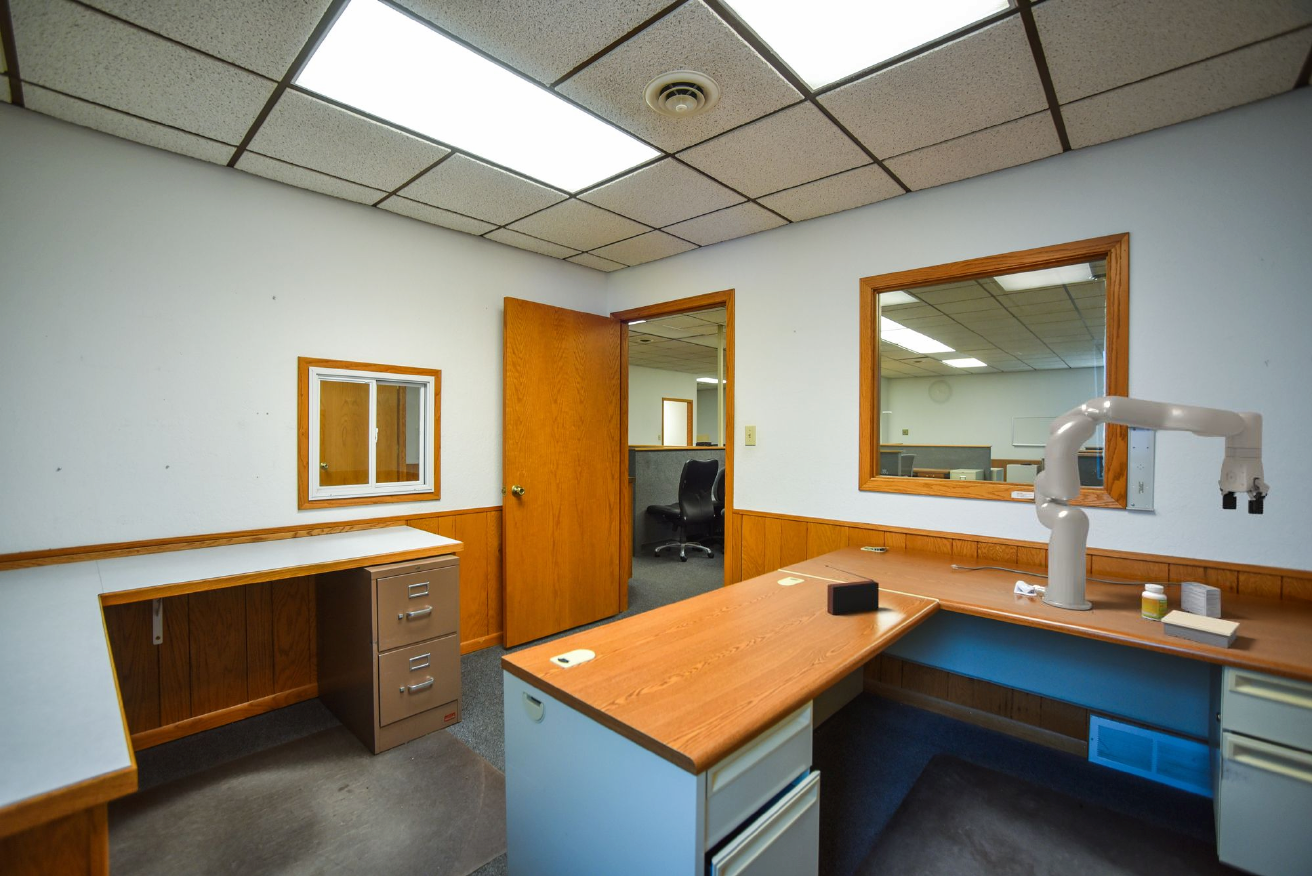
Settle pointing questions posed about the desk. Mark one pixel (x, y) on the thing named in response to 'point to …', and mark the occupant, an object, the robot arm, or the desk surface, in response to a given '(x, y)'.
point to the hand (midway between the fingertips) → (1242, 511)
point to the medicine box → (1201, 599)
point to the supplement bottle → (1154, 602)
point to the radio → (852, 596)
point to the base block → (1200, 628)
